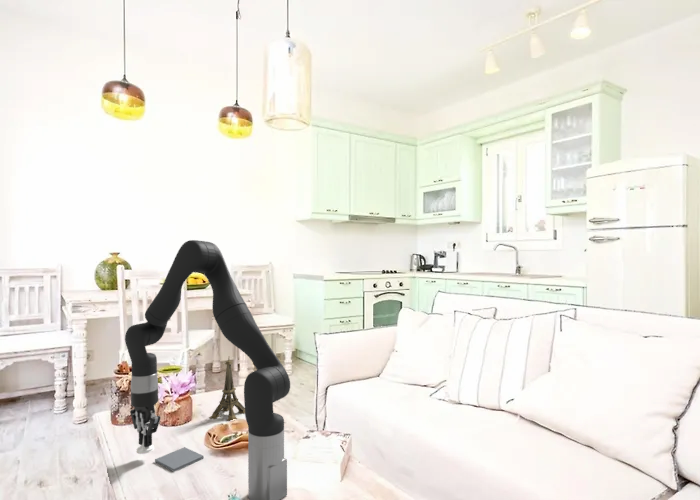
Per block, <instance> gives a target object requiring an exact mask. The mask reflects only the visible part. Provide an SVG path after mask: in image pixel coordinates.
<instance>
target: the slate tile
mask: <svg viewBox="0 0 700 500" xmlns="http://www.w3.org/2000/svg"><path fill="white" fill-rule="evenodd" d="M204 458H205V457H204V455H202V454H200V453H198V452H197V451H194V450H192V449H190V448H188V447H185V446H184V447H181V448H178V449H177V450H173V451H172V452H169V453H167V454H165V455H162V456H159V457H157V458H154V462H155V463H157V464H159V465H160V466H162V467H164V468H165V469H167V470H169V471H172V472H174V473H175V472H176V471H180V470H181V469H184V468H185V467H188V466H190V465H192V464H194V463H196V462H199V461H201V460H203V459H204Z"/></svg>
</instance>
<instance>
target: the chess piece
mask: <svg viewBox="0 0 700 500" xmlns="http://www.w3.org/2000/svg"><path fill="white" fill-rule="evenodd" d="M145 424H147V423H145ZM142 428H143V427H142ZM147 429H148V427H147ZM141 433H142V434H144V431H142V432H141ZM154 450H155V445H154V444H152V445H151V446H149V447H144V435H143V443H142V445H139V446H138V447H137V449H136V454H140V455H143V454H149V453H151V452H153V451H154Z"/></svg>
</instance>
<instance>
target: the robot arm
mask: <svg viewBox="0 0 700 500" xmlns="http://www.w3.org/2000/svg"><path fill="white" fill-rule="evenodd" d="M172 261H173V262H172V264H171V266H170V268H169V270H168V273H167V275H166V277H165V280H164V282H163V284H162V286H161V287H160V290H159V291H158V293H157V294H156V296H155V297H154V298H153V300H152V301H151V303H150V304H149V306H148V307H147V309H146V311H145V313H144V318H145V320H146V322H143V323H137V324H133V325H131V326H128V328H127V329H126V332H125V337H124V341H125V346H126V348H127V352H128V355H129V358H130V362H131V377H130V378H131V380H130V400H131V401H130V405H131V406H132V407H133V409H130V410H129V412H130V417H131V420H132V424H133V428H134V430H136V431H137V433H138V445H139V446H141V445H142V443H143V435H144V447H149V446H151V445H153V434H154V433H157V431H158V427H159V426H160V425H159V424H160V422H161V416H160V415H156V410H155V405H156V404H157V403H158V402H159V378H158V360H157V355H156V354H155V353H151V352H148V351H147V349H146V347H147V346H150V345H154V344H156V343H158V342H159V341H160V340H161V339H162V337H163V336H164V334H165V331H166V328H167V326H168V322H169V320H171V317H172V316H173V315H174V314H175V312H176V311H177V309H178V307H179V305H180V303H181V299H182V290H183V289H182V287H183V285H184V283H185V282H186V280H187V279H188V278H189V277H190V276H191V274H193V273H203V275H204V276H205V278H206V279H207V281H208V283H209V284H210V287H211V290H212V314H213V317H214V319H215V323H217V326H218V328H219V330H220V332H221V334H222V335H223V336H224V338H226V339H227V341H228V342H230V343H231V344H232V345H233V346H235V347H236V348H237V349H239V350H240V351H241V352H242V353H244V354H245V355H247V357H248V358H249V359H250V361H251V362H252V363H253V365H254V367H255V369H256V370H253V371H252V372H250V373H249V374H248V375H247V376H246V378H245V381H244V385H243V398H244V399H243V400H244V408H245V414H244V417H245V420H246V424H247V428H248V433H247V434H248V435H247V437H248V442H247V443H248V445H247V446H248V447H247V448H248V451H247V452H248V455H247V456H248V461H247V462H248V465H247V466H248V469H247V470H248V472H247V474H248V475H247V476H248V477H247V478H248V482H247V483H248V489H247V490H248V499H249V500H282V499H284V498H285V497H286V496H287V495H288V459H287V458H285V418H284V416H282V415H281V414H279V413H276V412H274V403H276V402H277V401H280V400H281V399H283V398H285V397H286V396H288V395H289V393H290V391H291V390H290V389H291V380H290V376H289V374H288V372H287V370H286V368H285V367H284V365H283V364H282V362H281V361H280V360H279V358H278V356H277V355H276V354H275V352H274V351H273V349H272V348H271V346H270V345H269V344H268V342H267V340H266V338H265V337H264V335H263V333H262V331H261V329H260V327H259V326H258V324H257V323H256V321H255V319H254V317H253V315H252V313H251V311H250V309H249V307H248V305H247V303H246V302H245V300H244V298H243V297H242V295H241V292H240V291H239V289H238V287H237V285H236V283H235V282H234V280H233V277H232V275H231V274H230V273H231V272H230V271H229V268H228V266H227V263H226V261H225V258H224V256H223V253H222V252H221V250H220V248H219V247H218V246H217V245H216V244H215V243H213V242H210V241H205V240H195V239H194V240H193V239H192V240H191V239H190V240H187V241H185V242H184V243H183V244H182V245H181V246H180V248H179V249H178V251H177V253H176V255H175V257H174V260H172ZM145 423H147V424H145ZM142 427H143V428H142ZM147 427H148V428H147ZM142 431H144V434H142V433H141V432H142Z"/></svg>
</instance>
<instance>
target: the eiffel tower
mask: <svg viewBox="0 0 700 500" xmlns="http://www.w3.org/2000/svg"><path fill="white" fill-rule="evenodd" d="M227 359H228V360H227V361H225V363H224V365H225V366H226V370H225V379H224V387H223V388H224V389H222V396H221V399H220V401H219V403H218V406H216V408H215V409H214V411H213V412H212V414H211V416H209V417H208V419H213V420H215V419H217V418H219V417H220V413H221V412H228V415H227V416H228V418H227V419H226V421H229V422H231V421H230V420H233V419H236V420H238V418H237V416H236V414H235V411H234V410H233V408H234V407H235V408H236V409H237V410H238V412H237V413H238V414H244V415H245V406H244V405H243V404H242V403H241V402H240V401H239V398H238V397H237V395H236V391H235V390H236V389H237V388H236V387H234V379H233V369H232V364H233V360H230V357H228V358H227Z"/></svg>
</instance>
